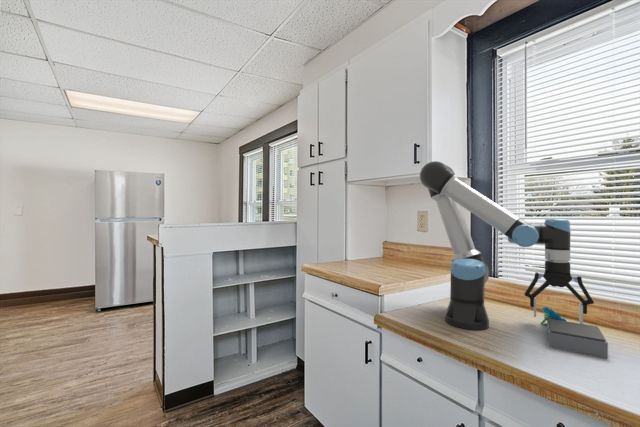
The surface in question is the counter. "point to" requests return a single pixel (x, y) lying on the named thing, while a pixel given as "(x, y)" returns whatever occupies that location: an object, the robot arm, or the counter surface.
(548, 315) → the teal branching figurine
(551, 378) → the counter surface
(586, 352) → the stand
